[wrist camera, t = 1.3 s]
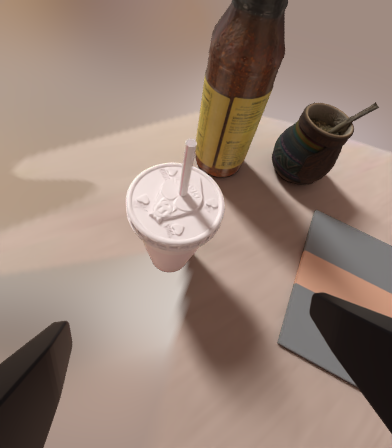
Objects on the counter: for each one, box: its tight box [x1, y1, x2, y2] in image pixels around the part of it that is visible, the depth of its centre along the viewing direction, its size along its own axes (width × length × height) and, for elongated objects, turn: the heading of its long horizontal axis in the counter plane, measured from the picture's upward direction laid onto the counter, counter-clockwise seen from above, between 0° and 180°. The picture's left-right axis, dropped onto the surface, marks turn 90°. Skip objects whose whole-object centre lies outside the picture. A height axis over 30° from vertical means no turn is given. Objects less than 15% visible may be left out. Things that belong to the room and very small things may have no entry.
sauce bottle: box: [195, 0, 288, 177], centre depth 22 cm, size 6×6×20 cm
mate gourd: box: [272, 102, 379, 185], centre depth 27 cm, size 7×8×10 cm
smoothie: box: [126, 139, 225, 272], centre depth 17 cm, size 6×6×14 cm
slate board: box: [278, 210, 392, 388], centre depth 24 cm, size 16×12×1 cm
